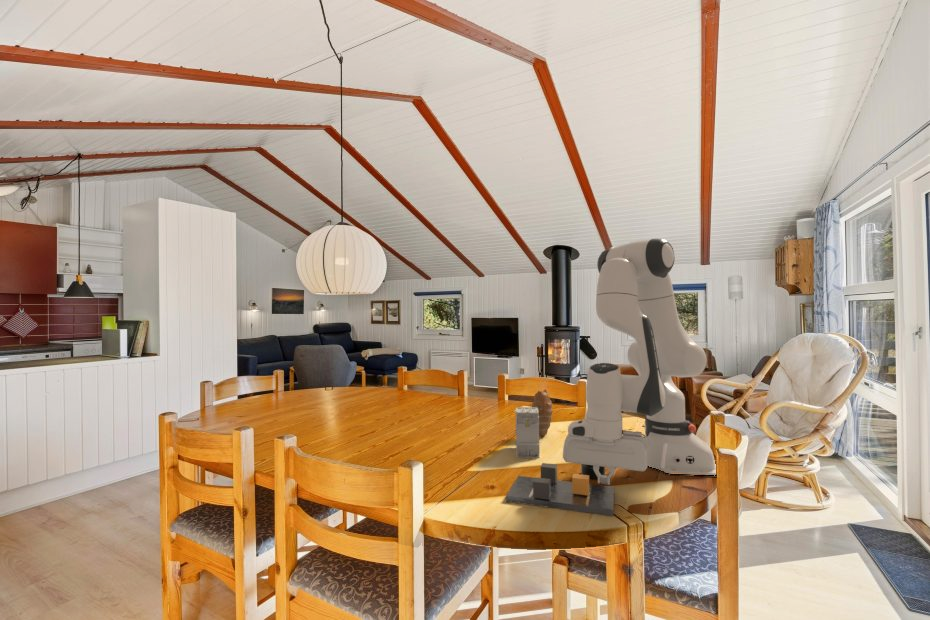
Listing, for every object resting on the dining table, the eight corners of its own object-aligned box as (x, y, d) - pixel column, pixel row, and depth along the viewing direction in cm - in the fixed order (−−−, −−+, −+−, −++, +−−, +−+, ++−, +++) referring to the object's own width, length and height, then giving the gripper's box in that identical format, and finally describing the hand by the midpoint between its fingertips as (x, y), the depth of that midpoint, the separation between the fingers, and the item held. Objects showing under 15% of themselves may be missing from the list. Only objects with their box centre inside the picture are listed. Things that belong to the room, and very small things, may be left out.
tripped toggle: (589, 490, 113) (589, 475, 113) (588, 495, 111) (588, 479, 111) (573, 488, 115) (573, 473, 115) (572, 493, 112) (572, 477, 112)
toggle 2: (551, 494, 111) (550, 479, 111) (549, 499, 109) (548, 483, 109) (535, 492, 113) (535, 477, 113) (533, 497, 110) (532, 481, 110)
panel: (614, 492, 117) (614, 486, 117) (613, 516, 103) (613, 508, 103) (518, 481, 125) (518, 475, 125) (506, 501, 112) (506, 494, 112)
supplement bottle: (582, 479, 126) (582, 437, 126) (579, 470, 133) (579, 431, 133) (607, 480, 125) (606, 438, 125) (603, 471, 132) (602, 431, 132)
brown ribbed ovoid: (544, 440, 163) (543, 392, 163) (527, 436, 169) (526, 390, 169) (557, 435, 170) (556, 389, 170) (540, 431, 175) (539, 386, 175)
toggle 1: (557, 478, 122) (556, 464, 122) (555, 482, 119) (555, 468, 119) (542, 477, 123) (542, 462, 123) (540, 481, 120) (540, 466, 120)
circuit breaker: (536, 444, 159) (536, 403, 159) (539, 458, 144) (538, 412, 144) (516, 444, 159) (515, 403, 159) (516, 457, 145) (516, 412, 145)
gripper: (647, 429, 110) (647, 484, 110) (565, 422, 117) (565, 473, 117) (648, 435, 104) (649, 494, 104) (561, 427, 111) (561, 482, 111)
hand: (603, 483), depth 111 cm, fingers closed
